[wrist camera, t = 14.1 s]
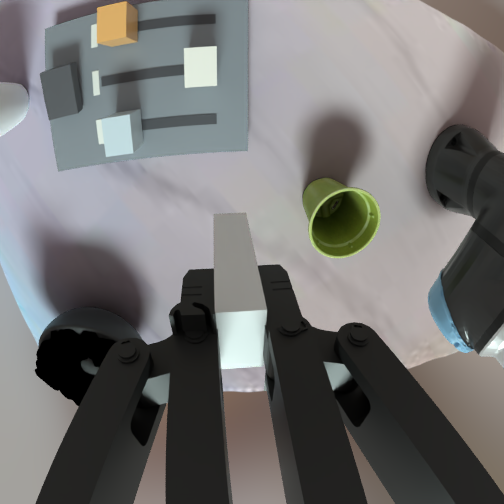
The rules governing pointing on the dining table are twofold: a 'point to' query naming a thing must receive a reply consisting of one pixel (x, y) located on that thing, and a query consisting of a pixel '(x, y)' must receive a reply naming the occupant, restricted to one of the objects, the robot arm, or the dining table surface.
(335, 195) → the plant pot
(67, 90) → the block
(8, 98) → the foam cup
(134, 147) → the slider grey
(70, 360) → the bowl of black rocks
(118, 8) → the slider orange
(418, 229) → the dining table surface
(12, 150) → the dining table surface
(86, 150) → the panel
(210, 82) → the slider cream
